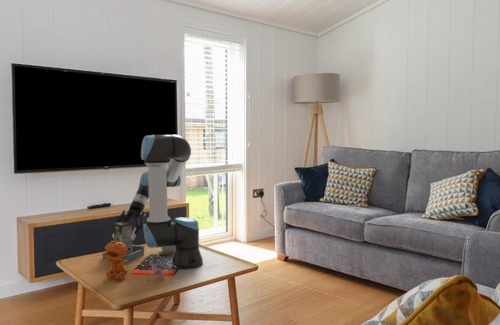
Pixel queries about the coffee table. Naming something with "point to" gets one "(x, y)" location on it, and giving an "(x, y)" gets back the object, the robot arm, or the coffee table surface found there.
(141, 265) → the coffee table surface
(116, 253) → the orange figurine
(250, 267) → the coffee table surface
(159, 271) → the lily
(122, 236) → the coffee box
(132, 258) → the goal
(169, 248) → the teacup
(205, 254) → the coffee table surface
